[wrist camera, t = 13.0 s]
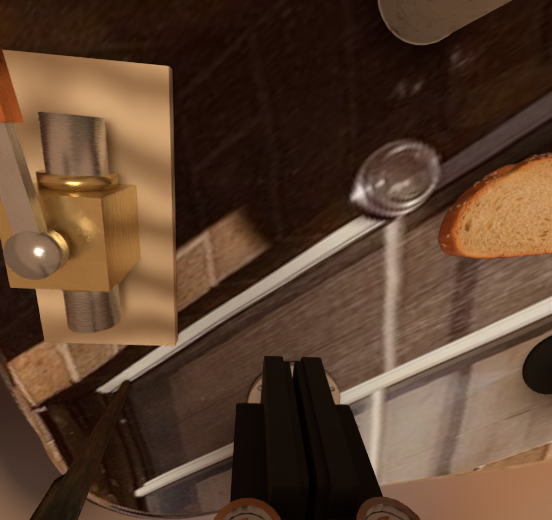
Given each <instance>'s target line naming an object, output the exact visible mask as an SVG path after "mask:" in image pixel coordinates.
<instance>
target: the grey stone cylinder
mask: <svg viewBox="0 0 552 520" xmlns="http://www.w3.org/2000/svg"><path fill="white" fill-rule="evenodd" d="M509 1H511V0H378V7H379V10H380V13H381V16H382V19H383V21H384V22H385V24H386V26H387V27H388V29H389V30H390V31H391V32H392V33H393V34H394V35H395V36H396V37H397V38H399V39H401V40H402V41H404V42H406V43H410V44H414V45H428V44H431V43H435V42H438V41H440V40H442V39H443V38H445V37H447V36H449V35H450V34H451V33H452V32H454V31H456V30H458V29H460V28H462V27H463V26H465V25H467V24H469V23H471V22H473V21H474V20H476V19H478V18H480V17H482V16H484V15H485V14H487V13H489V12H491V11H493V10H495V9H497V8H498V7H500V6H502V5H504V4H506V3H508V2H509Z"/></svg>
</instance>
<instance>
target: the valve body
mask: <svg viewBox="0 0 552 520" xmlns="http://www.w3.org/2000/svg"><path fill="white" fill-rule="evenodd" d="M37 117H38V124H39V131H40V138H41V145H42V152H43V159H44V166H45V170H39V171H36V178H37V182H36V183H33V185H34V188H35V191H36V195H37V198H38V201H39V204H40V208H41V211H42V214H43V217H44V220H45V224H46V227H47V228H50V229H52V230H54V231H56V232H57V233H59V234H60V235H61V236H62V237H63V238H64V240H65V241H66V243H67V245H68V248H69V258H68V261H67V263H66V264H65V265H64V266H63V267H62V268H60V269H59V270H57V271H56V272H54V273H53V274H51V275H50V276H48V277H46V278H44V279H40V280H30V279H26V278H23V277H21V276H19V275H17V274H16V273H15V272H13V271H12V270H11V269H10V268H9V266H8V265H7V263H6V261H5V263H6V268H7V273H8V278H9V283H10V287H11V288H34V289H58V290H62V291H63V298H64V305H65V312H66V319H67V326H68V328H69V329H70V330H71V331H73V332H77V333H96V332H100V331H104V330H107V329H110V328H112V327H114V326H115V325H117V324H118V323H119V322H120V320H121V309H120V297H119V285H118V284H119V283H120V282H122V281H123V280H124V278H125V275H126V274H127V273H128V272H129V271H130V270H131V269H132V267H133V266H134V265H135V264H136V263H137V262H138V261H139V260H140V259H141V257H140V240H139V222H138V205H137V188H136V185H131V184H118V174H117V173H115V172H110V171H109V165H108V153H107V141H106V128H105V118H99V117H91V116H81V115H71V114H60V113H48V112H37ZM11 236H13V232H12V229H11V226H10V223H9V220H8V217H7V215H6V212H5V209H4V206H3V203H2V200H1V197H0V237H1V242H2V247H3V248H4V245H5V243H6V241H7V240H8V239H9V238H10V237H11Z"/></svg>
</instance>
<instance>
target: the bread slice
mask: <svg viewBox="0 0 552 520" xmlns="http://www.w3.org/2000/svg"><path fill="white" fill-rule="evenodd" d="M438 242H439V245H440V247H441V249H442V250H443V252H444V253H445V254H448V255H452V256H463V257H469V258H485V259H490V258H506V257H518V256H530V255H540V254H549V253H552V153H544V154H540V155H532V156H530V157H528V158H526V159H524V160H522V161H521V162H519V163H516V164H511V165H506V166H503V167H501V168H500V169H498V170H496V171H494V172H491V173H490V174H488V175H487V176H485V177H484V178H482V179H481V180H479V181H478V182H476V183H474V184H473V185H472V186H471V187H469V188H468V189H467V190H466V191H465V192H464V193H463V194H462V195H461V196H460V197H459V198H458V199H457V201H456V202H455V203H454V204H453V205H452V206H451V208H450V209H449V211H448V213H447V214H446V216H445V218H444V220H443V222H442V225H441V227H440V232H439V236H438Z"/></svg>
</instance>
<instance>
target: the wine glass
mask: <svg viewBox="0 0 552 520" xmlns="http://www.w3.org/2000/svg"><path fill="white" fill-rule="evenodd" d="M523 378H524V381H525V383H526V384H527V385H528V387H530V388H531V389H532V390H533V391H535V392H538V393H541V394H552V336H550V337H548V338H546V339H545V340H543V341H542V342H540V343H539V344H538V345H537V346H536V347H534V349H533V350H532V351H531V352H530V354H529V355H528V356H527V358H526V360H525V363H524V366H523Z"/></svg>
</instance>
